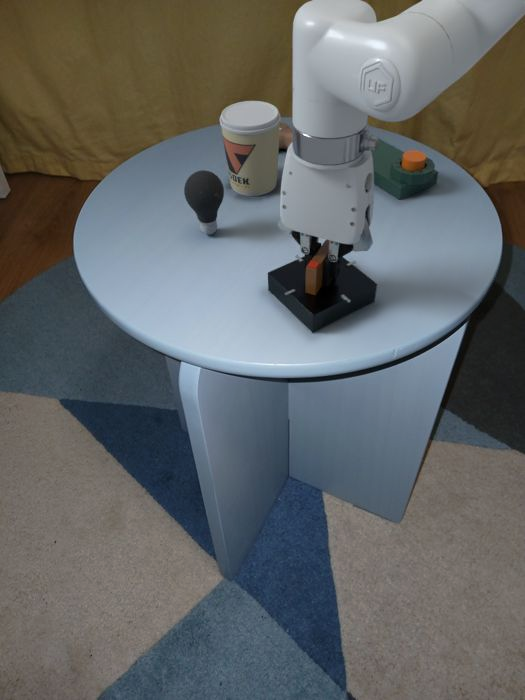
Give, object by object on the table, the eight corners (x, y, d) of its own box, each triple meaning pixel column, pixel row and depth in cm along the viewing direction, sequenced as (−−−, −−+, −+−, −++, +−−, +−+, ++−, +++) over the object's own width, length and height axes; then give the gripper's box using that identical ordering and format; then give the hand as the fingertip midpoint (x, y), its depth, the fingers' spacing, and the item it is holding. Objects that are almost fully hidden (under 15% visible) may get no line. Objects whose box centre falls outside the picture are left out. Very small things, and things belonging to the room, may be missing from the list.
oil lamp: (268, 165, 98) (309, 157, 100) (268, 145, 95) (311, 137, 97) (251, 138, 103) (291, 130, 105) (251, 118, 100) (293, 110, 102)
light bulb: (185, 241, 82) (174, 180, 75) (199, 220, 86) (190, 160, 79) (220, 247, 81) (213, 185, 74) (233, 225, 85) (227, 165, 77)
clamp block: (381, 302, 72) (384, 283, 69) (311, 338, 68) (312, 319, 65) (328, 259, 78) (329, 240, 76) (261, 289, 74) (260, 270, 72)
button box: (441, 187, 90) (446, 164, 87) (404, 203, 87) (408, 180, 84) (364, 142, 101) (366, 121, 98) (329, 155, 98) (330, 133, 95)
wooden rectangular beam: (327, 260, 73) (328, 234, 70) (336, 263, 73) (338, 236, 70) (305, 292, 69) (305, 265, 66) (315, 295, 68) (316, 268, 65)
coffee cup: (214, 183, 93) (207, 112, 85) (258, 164, 97) (255, 94, 88) (248, 205, 88) (244, 132, 80) (293, 184, 92) (293, 113, 83)
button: (429, 167, 87) (431, 156, 86) (412, 174, 86) (414, 163, 85) (413, 158, 89) (415, 147, 88) (396, 165, 88) (398, 154, 87)
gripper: (413, 137, 57) (390, 276, 70) (277, 112, 62) (279, 246, 76) (389, 171, 52) (369, 313, 66) (245, 141, 58) (253, 278, 71)
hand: (321, 276), depth 71 cm, fingers closed
